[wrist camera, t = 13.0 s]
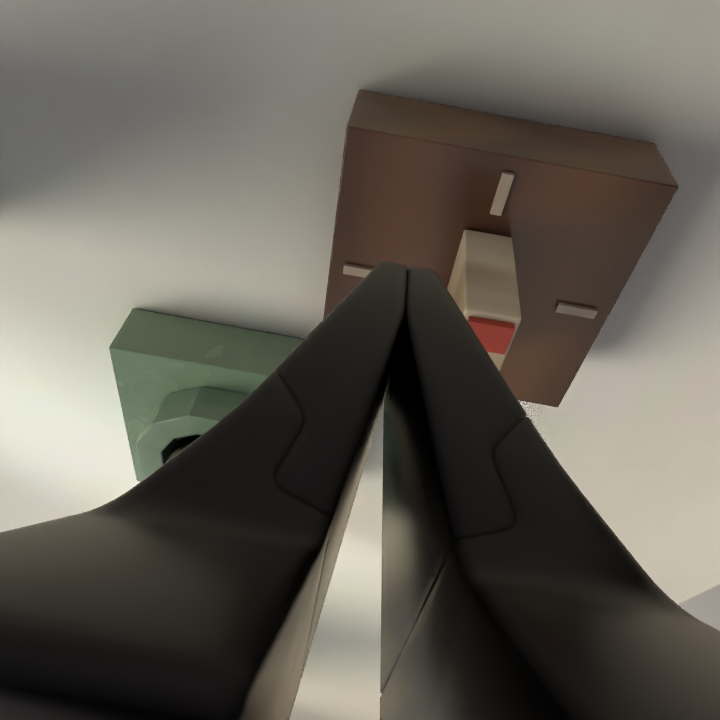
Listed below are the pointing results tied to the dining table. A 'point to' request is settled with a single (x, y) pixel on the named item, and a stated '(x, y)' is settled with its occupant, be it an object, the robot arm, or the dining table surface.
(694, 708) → the robot arm
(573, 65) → the dining table surface
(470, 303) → the beige long block
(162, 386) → the button box
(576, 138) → the dial panel
